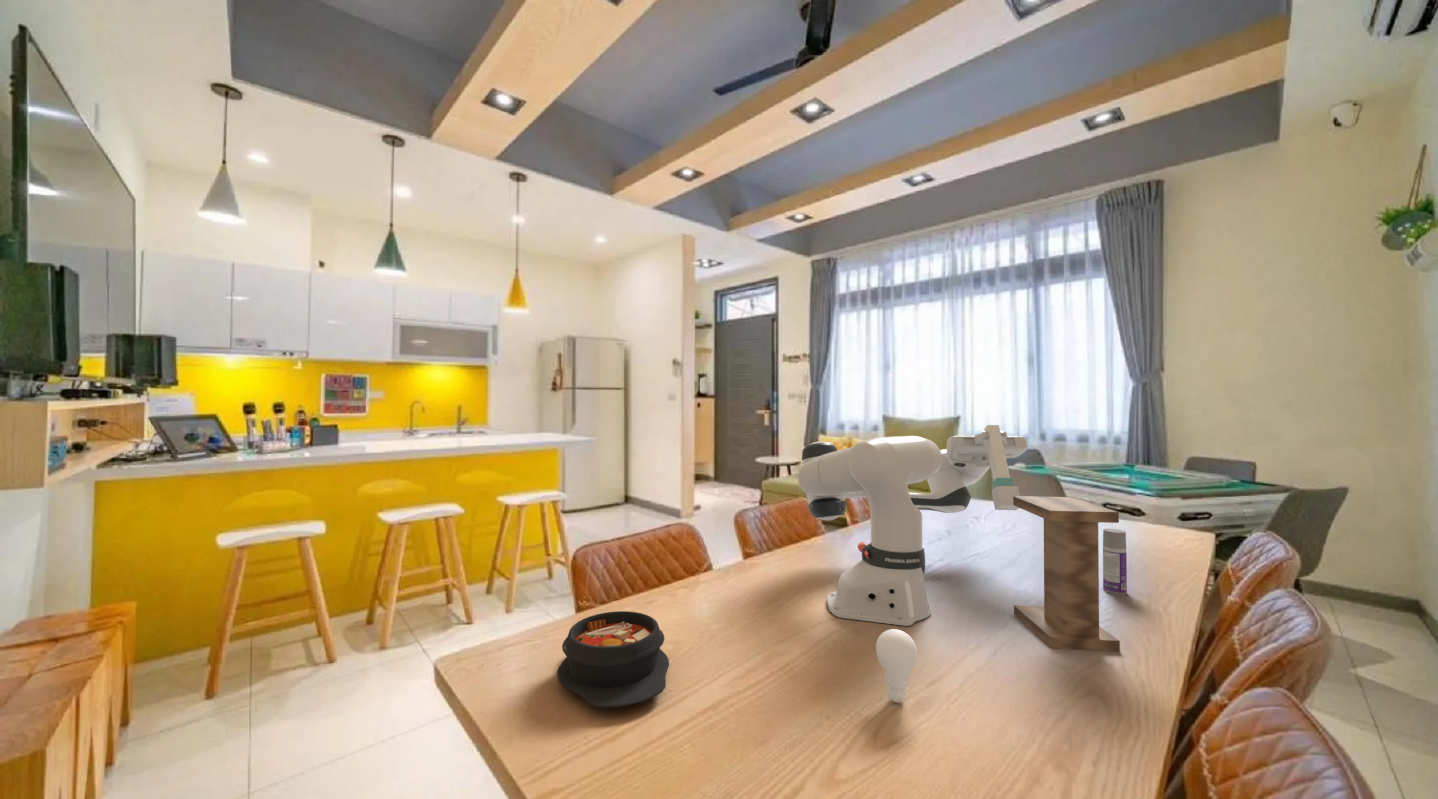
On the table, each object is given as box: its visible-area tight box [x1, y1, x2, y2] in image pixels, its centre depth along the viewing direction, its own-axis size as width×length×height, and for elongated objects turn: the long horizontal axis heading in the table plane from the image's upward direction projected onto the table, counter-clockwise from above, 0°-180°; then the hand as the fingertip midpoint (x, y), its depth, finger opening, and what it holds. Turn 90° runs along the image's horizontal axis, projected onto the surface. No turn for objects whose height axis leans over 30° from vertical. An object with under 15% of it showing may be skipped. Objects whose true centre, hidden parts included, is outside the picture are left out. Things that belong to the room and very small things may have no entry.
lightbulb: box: [875, 628, 918, 704], centre depth 81 cm, size 6×6×11 cm
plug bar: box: [983, 424, 1021, 511], centre depth 137 cm, size 5×22×4 cm
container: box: [1102, 528, 1128, 596], centre depth 129 cm, size 5×5×15 cm
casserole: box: [556, 610, 670, 709], centre depth 89 cm, size 25×19×8 cm
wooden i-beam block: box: [1013, 495, 1121, 653], centre depth 106 cm, size 12×16×26 cm
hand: (995, 433), depth 139 cm, fingers closed on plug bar, 3 cm apart
